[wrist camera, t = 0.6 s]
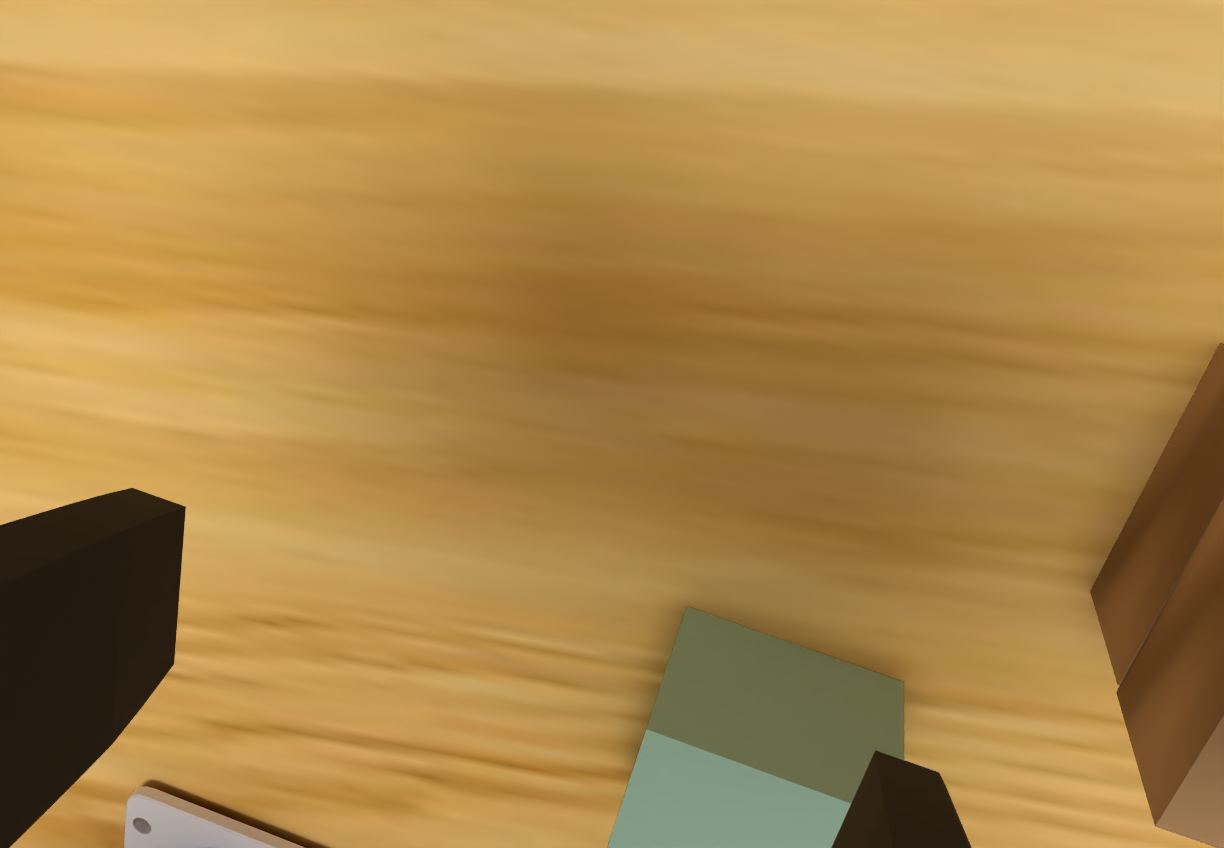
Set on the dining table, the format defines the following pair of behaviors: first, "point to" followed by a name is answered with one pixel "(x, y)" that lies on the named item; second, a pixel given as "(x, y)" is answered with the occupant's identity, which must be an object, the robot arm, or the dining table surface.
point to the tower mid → (1183, 699)
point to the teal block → (754, 743)
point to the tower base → (1164, 524)
